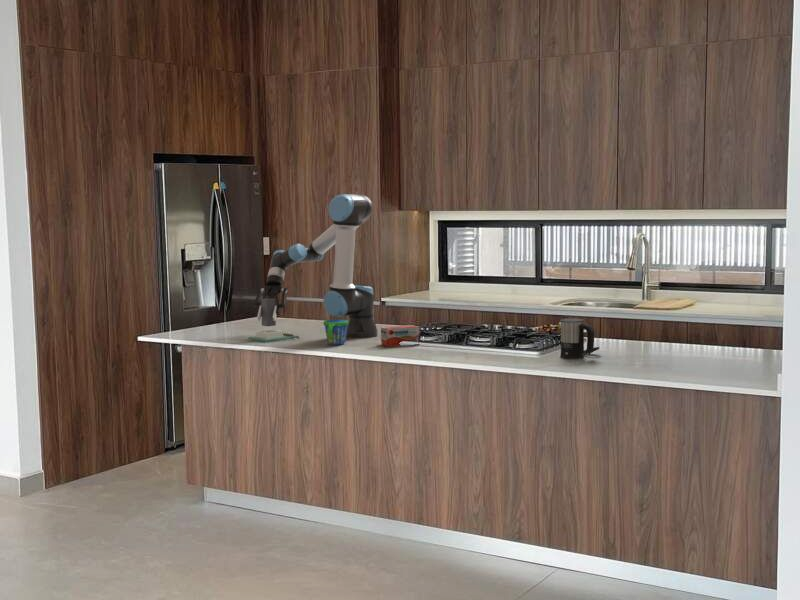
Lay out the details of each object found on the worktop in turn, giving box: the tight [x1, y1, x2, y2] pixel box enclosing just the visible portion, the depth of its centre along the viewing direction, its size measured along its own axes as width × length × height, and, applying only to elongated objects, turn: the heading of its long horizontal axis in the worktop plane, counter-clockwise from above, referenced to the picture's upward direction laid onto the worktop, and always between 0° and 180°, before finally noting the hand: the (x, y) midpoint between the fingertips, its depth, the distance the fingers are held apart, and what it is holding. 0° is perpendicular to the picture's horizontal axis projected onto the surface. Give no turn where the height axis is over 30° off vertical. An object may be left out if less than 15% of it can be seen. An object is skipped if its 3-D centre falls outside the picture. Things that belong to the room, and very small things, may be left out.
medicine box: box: [380, 324, 421, 348], centre depth 412 cm, size 15×8×8 cm, turn 111°
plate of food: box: [535, 321, 587, 333], centre depth 443 cm, size 28×28×6 cm
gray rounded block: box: [260, 297, 277, 327], centre depth 432 cm, size 5×4×12 cm
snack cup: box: [323, 319, 348, 346], centre depth 416 cm, size 16×10×10 cm
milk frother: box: [559, 318, 600, 360], centre depth 376 cm, size 14×16×15 cm
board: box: [247, 329, 300, 343], centre depth 434 cm, size 14×18×4 cm
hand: (266, 318), depth 428 cm, fingers closed on gray rounded block, 6 cm apart
